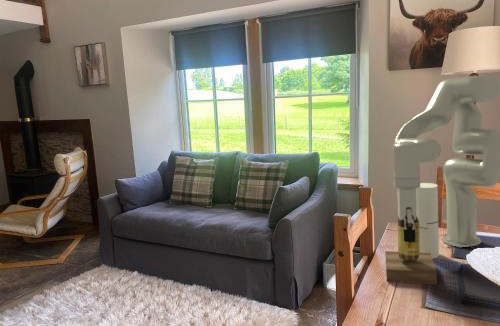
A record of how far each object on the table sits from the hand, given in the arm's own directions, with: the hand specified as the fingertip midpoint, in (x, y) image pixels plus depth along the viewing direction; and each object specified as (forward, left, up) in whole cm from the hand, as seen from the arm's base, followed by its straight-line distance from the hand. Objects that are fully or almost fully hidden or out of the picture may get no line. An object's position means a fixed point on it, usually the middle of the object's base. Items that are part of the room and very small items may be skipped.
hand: (408, 236), depth 118 cm
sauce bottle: (+1, 0, -7) cm, 7 cm away
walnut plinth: (0, 0, -12) cm, 12 cm away
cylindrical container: (-15, +7, -12) cm, 20 cm away
